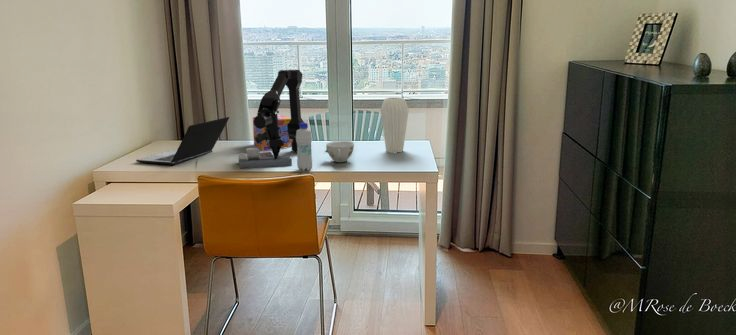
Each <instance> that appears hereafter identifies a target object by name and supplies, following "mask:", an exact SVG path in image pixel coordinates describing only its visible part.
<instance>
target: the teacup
mask: <svg viewBox="0 0 736 335" xmlns="http://www.w3.org/2000/svg"><path fill="white" fill-rule="evenodd" d="M325 146H326V147H325V149H326V148H327V149H326V151H327V154H328V156H329V157H330V158H331V159H332V160H333V162H337V163H344V162H345V163H346V162H347V161H348V160H349V159H350V157H351V156H352V154H353V151H354V146H355V143H354V142H351V141H335V142H329V143H326V145H325Z"/></svg>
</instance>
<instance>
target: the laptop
mask: <svg viewBox="0 0 736 335" xmlns="http://www.w3.org/2000/svg"><path fill="white" fill-rule="evenodd" d="M229 119H230V116H227V117H226V116H225V117H223V118H218V119H213V120H209V121H204V122H200V123H195V124H191V125H188V127H187V129H186V132H185V134H184V136H183V138H182V140H181V142H180V144H179V146H178V148H173V149H171V150H167V151H163V152H159V153H156V154H153V155H149V156H145V157H141V158H137V159H136V161H135V162H139V163H146V164H147V163H148V164H159V165H160V164H161V165H170V166H174V165H176V164H179V163H182V162H186V161H189V160H193V159H195V158H199V157H202V156H205V155H208V154H211V153H213V150H214V147H215V146H216V144H217V141H218V140H219V139H220V138H219V137H220V136H221V135H222V132H223V131H224V129H225V127H226V124H227V123H228V121H229Z"/></svg>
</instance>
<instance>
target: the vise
mask: <svg viewBox="0 0 736 335" xmlns="http://www.w3.org/2000/svg"><path fill="white" fill-rule="evenodd" d="M237 158H238V165H239V169H256V168H258V169H260V168H271V167H287V166H289V167H290V166H293V161H292V160H293V159H292V157H290V156H278V158H277V159H269V160H254V161H248V157H247V153H238V154H237Z"/></svg>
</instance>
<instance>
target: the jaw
mask: <svg viewBox="0 0 736 335" xmlns="http://www.w3.org/2000/svg"><path fill="white" fill-rule="evenodd" d="M269 159H274V156H273V153H272V151H270V152H269V151H267V152H259V160H269Z"/></svg>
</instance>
